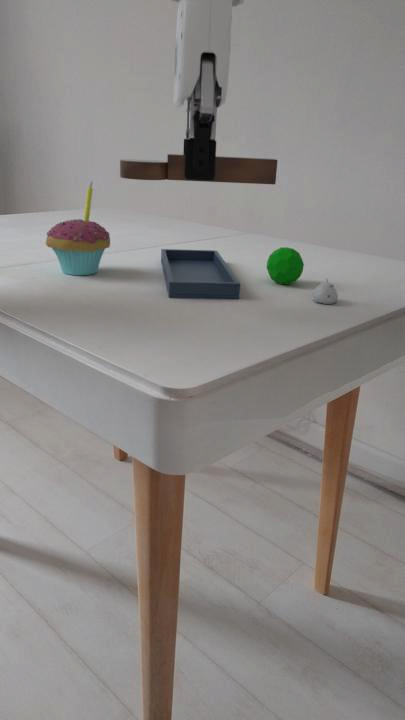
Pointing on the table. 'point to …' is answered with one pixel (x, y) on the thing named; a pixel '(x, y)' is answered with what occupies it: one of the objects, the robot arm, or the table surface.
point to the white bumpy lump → (325, 293)
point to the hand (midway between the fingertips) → (198, 177)
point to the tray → (198, 274)
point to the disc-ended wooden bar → (224, 172)
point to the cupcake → (79, 243)
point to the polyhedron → (285, 265)
